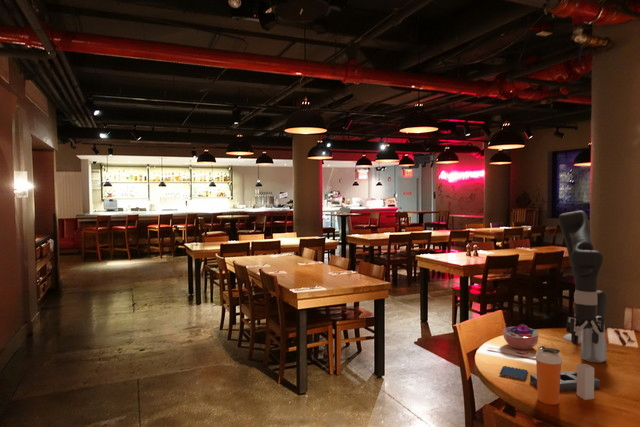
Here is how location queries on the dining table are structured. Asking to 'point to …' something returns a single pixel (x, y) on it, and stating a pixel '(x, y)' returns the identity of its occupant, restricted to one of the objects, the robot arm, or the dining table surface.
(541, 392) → the shaker bottle
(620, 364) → the dining table surface
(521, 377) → the woven mat
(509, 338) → the cell model
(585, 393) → the peg
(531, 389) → the dining table surface
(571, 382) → the grey slotted frame
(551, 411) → the dining table surface
